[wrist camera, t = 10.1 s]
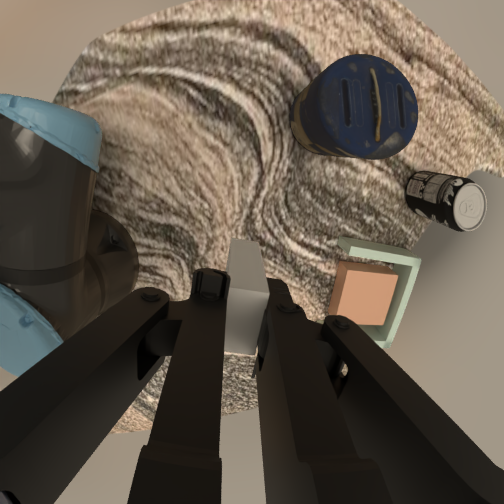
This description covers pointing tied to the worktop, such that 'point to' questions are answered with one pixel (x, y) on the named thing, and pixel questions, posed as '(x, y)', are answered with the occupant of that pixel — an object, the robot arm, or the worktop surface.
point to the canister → (356, 110)
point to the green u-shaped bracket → (407, 273)
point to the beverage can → (447, 200)
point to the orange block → (362, 292)
